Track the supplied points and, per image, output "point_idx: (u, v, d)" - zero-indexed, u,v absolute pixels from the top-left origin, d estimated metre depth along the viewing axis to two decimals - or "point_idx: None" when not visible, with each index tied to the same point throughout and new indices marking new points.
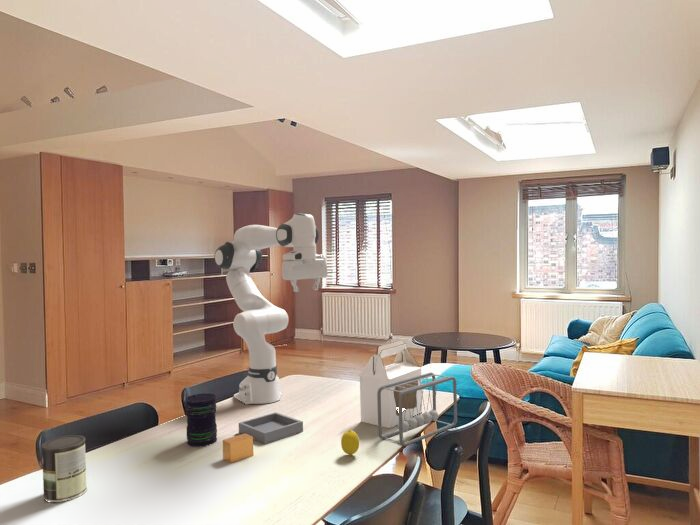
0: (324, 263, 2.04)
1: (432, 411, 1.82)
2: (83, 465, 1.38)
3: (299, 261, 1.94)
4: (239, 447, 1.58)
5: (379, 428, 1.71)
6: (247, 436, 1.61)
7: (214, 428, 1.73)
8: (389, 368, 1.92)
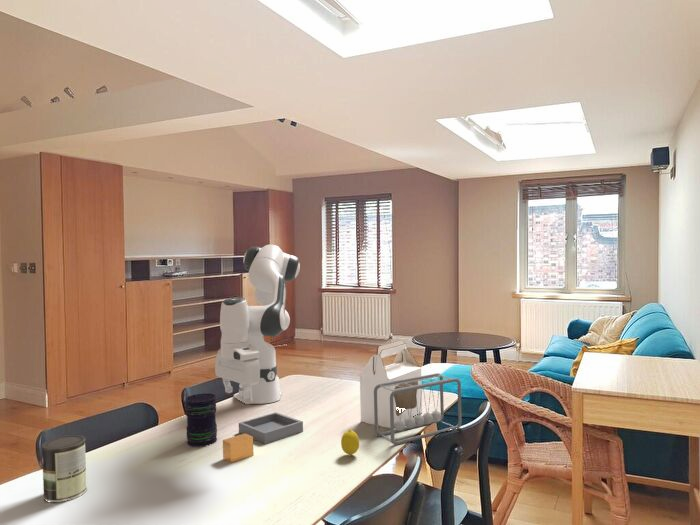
0: None
1: (435, 412, 1.81)
2: (83, 465, 1.38)
3: None
4: (239, 447, 1.58)
5: (375, 425, 1.74)
6: (247, 436, 1.61)
7: (214, 428, 1.73)
8: (389, 368, 1.92)
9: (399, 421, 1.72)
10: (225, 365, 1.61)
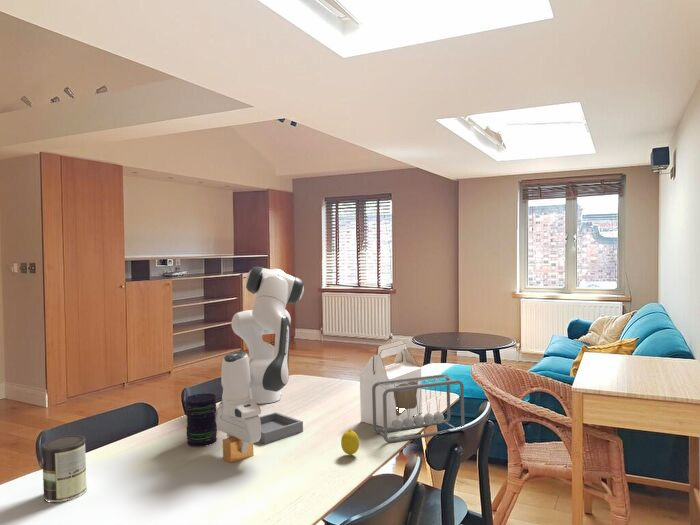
0: None
1: (437, 413, 1.79)
2: (83, 465, 1.38)
3: None
4: (239, 446, 1.58)
5: (373, 422, 1.77)
6: None
7: (214, 428, 1.73)
8: (389, 368, 1.92)
9: (396, 420, 1.74)
10: (226, 420, 1.61)
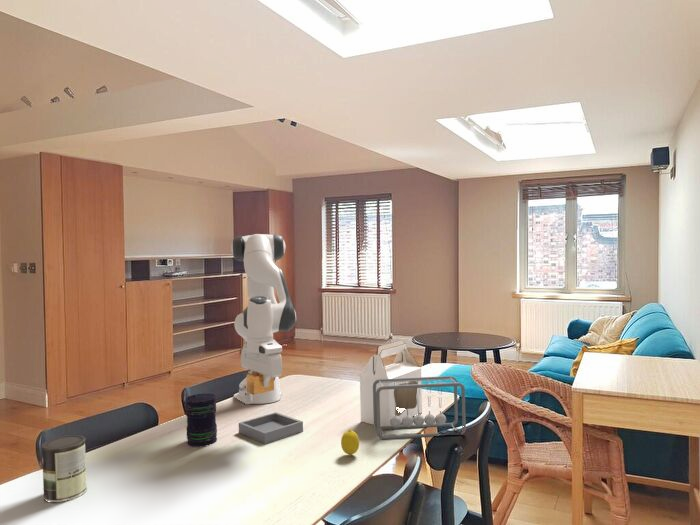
0: None
1: (438, 415, 1.78)
2: (83, 465, 1.38)
3: None
4: (261, 381, 1.74)
5: (374, 418, 1.81)
6: None
7: (214, 428, 1.73)
8: (389, 368, 1.92)
9: (393, 417, 1.76)
10: (250, 357, 1.78)
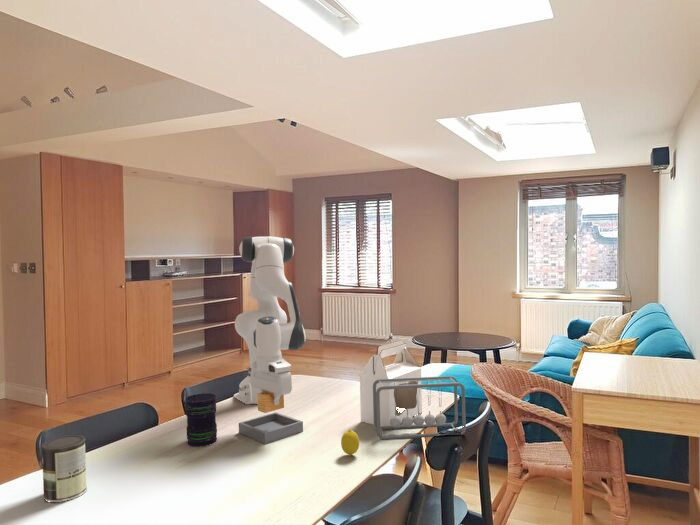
0: None
1: (438, 415, 1.78)
2: (83, 465, 1.38)
3: None
4: (272, 399, 1.79)
5: (374, 418, 1.81)
6: None
7: (214, 428, 1.73)
8: (389, 368, 1.92)
9: (393, 417, 1.76)
10: (260, 377, 1.83)
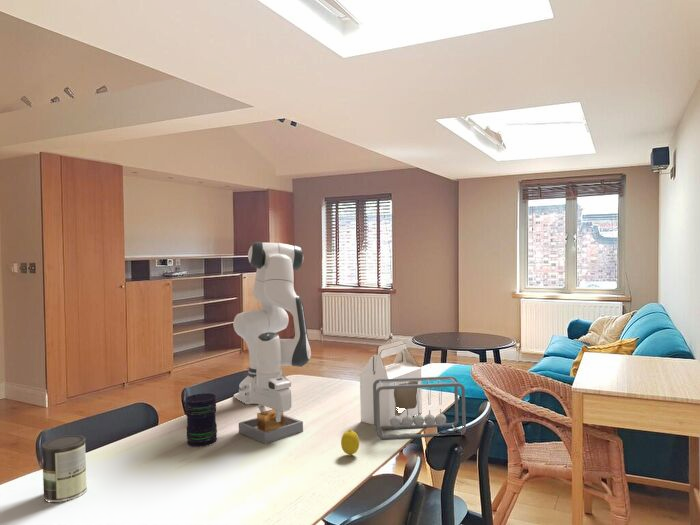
0: None
1: (438, 415, 1.77)
2: (83, 465, 1.38)
3: None
4: (271, 419, 1.79)
5: (374, 418, 1.81)
6: None
7: (214, 428, 1.73)
8: (389, 368, 1.92)
9: (393, 417, 1.76)
10: (260, 392, 1.83)
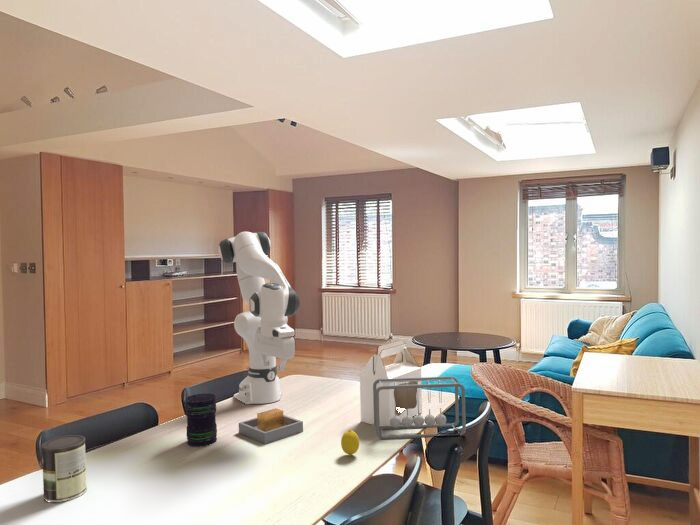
0: None
1: (438, 415, 1.77)
2: (83, 465, 1.38)
3: None
4: (271, 419, 1.79)
5: (374, 418, 1.81)
6: (278, 410, 1.83)
7: (214, 428, 1.73)
8: (389, 368, 1.92)
9: (393, 417, 1.76)
10: (263, 342, 1.85)
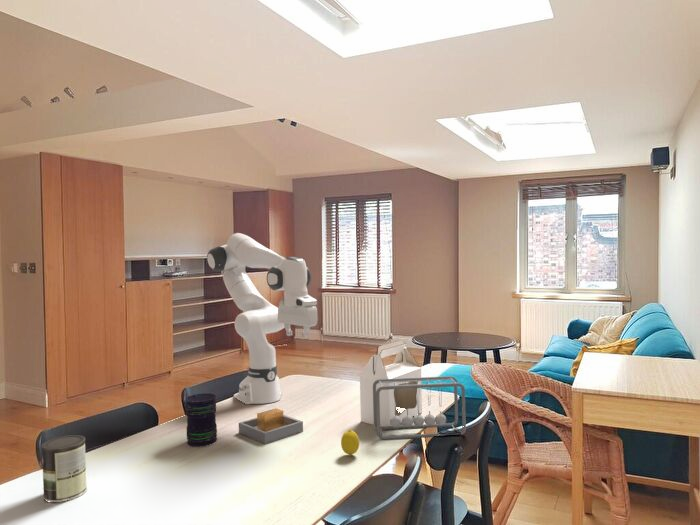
0: None
1: (438, 415, 1.77)
2: (83, 465, 1.38)
3: None
4: (271, 419, 1.79)
5: (374, 418, 1.81)
6: (278, 410, 1.83)
7: (214, 428, 1.73)
8: (389, 368, 1.92)
9: (393, 418, 1.76)
10: (287, 312, 1.97)
